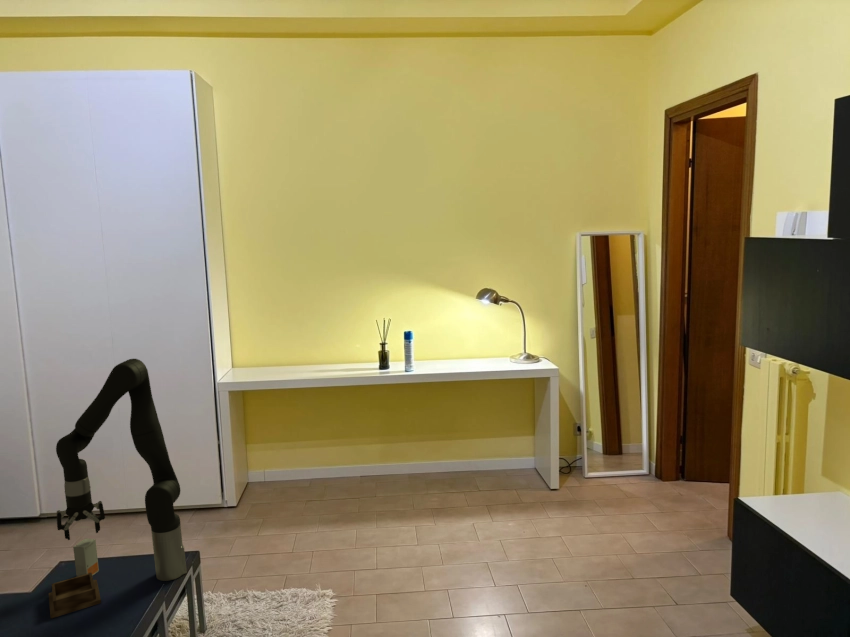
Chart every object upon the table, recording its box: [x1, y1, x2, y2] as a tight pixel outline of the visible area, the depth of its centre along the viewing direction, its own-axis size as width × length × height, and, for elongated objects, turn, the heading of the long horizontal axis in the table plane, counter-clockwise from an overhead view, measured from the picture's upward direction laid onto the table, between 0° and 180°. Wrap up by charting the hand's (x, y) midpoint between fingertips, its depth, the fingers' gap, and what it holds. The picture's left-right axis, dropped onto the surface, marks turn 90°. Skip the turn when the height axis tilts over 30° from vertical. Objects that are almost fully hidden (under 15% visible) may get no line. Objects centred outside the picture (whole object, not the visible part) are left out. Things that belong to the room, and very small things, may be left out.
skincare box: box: [72, 538, 100, 577], centre depth 220 cm, size 6×4×12 cm
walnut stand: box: [48, 573, 102, 619], centre depth 206 cm, size 14×14×5 cm
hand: (82, 535), depth 218 cm, fingers open, 8 cm apart
